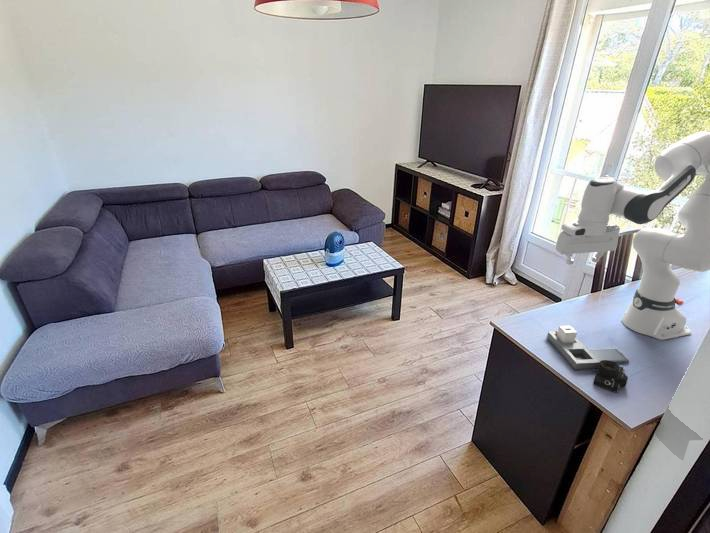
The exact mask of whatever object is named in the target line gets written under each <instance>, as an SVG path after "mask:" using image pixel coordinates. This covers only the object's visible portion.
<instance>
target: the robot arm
mask: <svg viewBox="0 0 710 533" xmlns="http://www.w3.org/2000/svg"><path fill="white" fill-rule="evenodd" d="M654 170H655V173H656V175H657V176H658V177H659V178H660V180H662V181H664V182H663V183H662V184H660V186H659V187H657V188H656V189H655V190H642V189H637V188H633V187H630V186H626V185H623V184H620V183H619V182H618V181H617V180H616V178H612V177H608V176H606V177H605V176H603V177H596V178H593V179H591V180H590V181H589V182H588V183H587V185H586V188H585V190H584V193H583V195H582V200H581V203H580V204H581V205H580V207H581V210H580V212H579V214H578V218H576V219H573V220H572V221H571V220H570V221H569V222H567V223H564V224H562V225H561V228H560V229H561V230H562V231H561V232H560V233H559V235H558V237H557V240H556V244H555V250H556V251H557V253H559V254H560V255H565V258H566V261H565V263H566V264H567V265H569V266H570V265H573V264H574V259H572V257H573V255H575V254H586V253H587V254H588V253H596V254H595V255H593V256H592V258H591V262H592V263H595V264H596V263H599V262H600V259H601V258H602V257H603V256H604V255H605V252H613V251H615V250H616V249H617V248H618V244H619V235H620V226H618V225H617V224H609V221H610V215H614V216H617V217H619V218H622V219H626V220H627V221H630V222H632V223H635V224H637V225H644V224H647V223H650V222H652V221H654V220H655V219H657V218H658V217H659V215H660V214H661V213H662V212H663V210H664V209H665V208H666V207H667V206H668V205H669V204H670V203H671V202H672V201H674V200H675V199H676V198H677V197H678V196H679V195H680V194H682V192H683V191H685V190H686V188H688V187H689V186H690V185H691V183H692V182H693V181H694V180H695V177H696V176H705V177H704V178H705V179H704V181H703V183H702V184H701V185H699V187H697V189H696V190H695V191H694V192H693V194H692V195H691V196H689V198H688V199H687V201H686V203H685V204H684V205H683V206H682V208H681V209H680V210H679V212H678V214H677V220H678V221H679V223H680V224H681V225H682V226H683V227H684V228H685V229H686V231H685V232H684V233H679V232H675V231H671V230H668V229H664V228H661V227H649V226H648V227H647V226H646V227H643V228H641V229H639V230H638V231H637V232H636V233H635V234H634V236H633V237H632V248H633V249H634V250H635V252H636V253H637V254H638V256H639V258H640V261H641V265H642V276H641V278H640V282H639V285H638V289H636V290H635V292H634V295H633V299H632V301H631V303H630V304H629V306H628V308H627V310H626V311H624V315H623V316H622V318H621V322H622V324H623V325H624V326H625V327H627V328H628V329H629V330H632V331H634V332H636V333H639V334H642V335H645V336H648V337H652V338H654V339H657V340H660V341H664V340H668V339H673V338H678V337H683V336H688V335H691V334H692V330H691V329H690V328H689V327H688V326H687V325H686V324H687V318H686V316H685V314H684V313H683V312H682V311H680V310H679V308H677V307H676V304H677V306H679V307H681V306H682V305H684V300H682V299H680V298H676V294H677V293H678V290H679V287H680V285H681V279H680V277H679V276H678V274H677V273H676V272H675V271H674V270H673V269H672V267H671V265H672V266H674V267H675V266H676V267H677V268H680V269H684V270H688V271H693V272H700V273H704V272H707V271H710V132H709V131H699V132H696V133H693V134H691V135H688V136H686V137H684V138H682V139H681V140H678V141H677V142H674V143H673V144H672V145H670V146H669V147H667V148H665V149H663V151H661V152H660V153H659V155H658V156H656V158H655V162H654Z"/></svg>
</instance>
